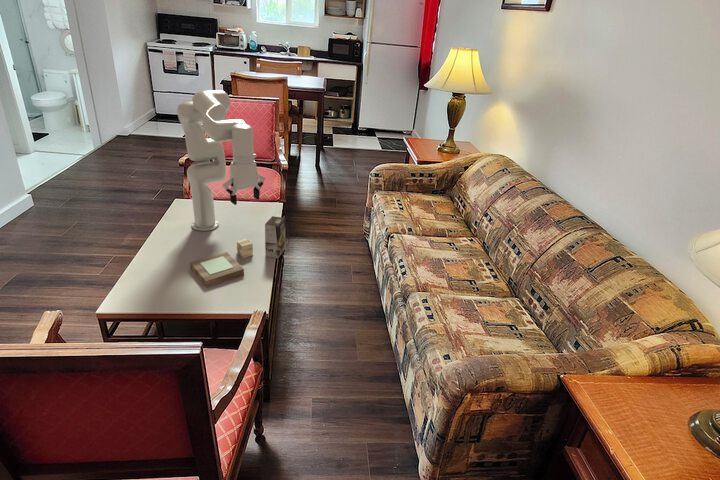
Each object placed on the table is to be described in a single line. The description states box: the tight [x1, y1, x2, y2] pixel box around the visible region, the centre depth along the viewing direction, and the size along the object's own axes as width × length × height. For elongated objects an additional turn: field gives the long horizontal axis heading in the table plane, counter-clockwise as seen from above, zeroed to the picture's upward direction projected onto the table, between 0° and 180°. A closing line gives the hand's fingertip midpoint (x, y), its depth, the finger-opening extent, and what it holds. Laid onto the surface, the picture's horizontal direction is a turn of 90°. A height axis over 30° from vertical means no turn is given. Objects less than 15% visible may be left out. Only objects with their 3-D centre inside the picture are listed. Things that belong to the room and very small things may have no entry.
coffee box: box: [264, 216, 286, 259], centre depth 191 cm, size 9×6×16 cm
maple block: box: [236, 238, 254, 259], centre depth 190 cm, size 5×5×6 cm
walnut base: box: [189, 251, 245, 288], centre depth 176 cm, size 16×16×3 cm
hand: (245, 200), depth 167 cm, fingers open, 9 cm apart
